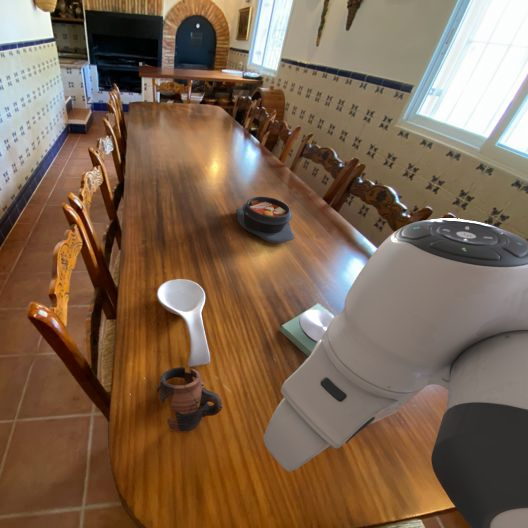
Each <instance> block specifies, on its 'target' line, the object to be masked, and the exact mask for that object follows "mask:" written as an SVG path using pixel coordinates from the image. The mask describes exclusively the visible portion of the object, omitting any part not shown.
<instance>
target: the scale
mask: <svg viewBox="0 0 528 528" xmlns="http://www.w3.org/2000/svg"><path fill="white" fill-rule="evenodd" d="M309 310H319V311H323V312H326V313H328V314H330V315H332V316H333V317H335V316H336V315H334V314H333V313H332V312H330V311H329V310H328V309H327V308H325V307H324V306H323V305H322V304H320V303H316V304H315V305H313V306H311V307H310V308H308V309H306V310H305V311H303V312H301V313H299V314H298V315H297V316H295V317H293V318H292V319H289V320H288V321H287V322H285V323H284V324H282V325H281V327H280V328H279V332H281V334H283V335H284V336H285V337H286V339H288V340H289V341H290V342H291V343H292V344H293V345H295V347H297V348H298V349H299V350H300V351H302V353H303V354H305V355H306V356H307V358H308V357H309V356H310V354H311V352H312V351H313V349H314V347H315V345H316V344H317V343H315V342H313V341H312V340H310V339H309V338H308V337H307V336H306V335H305V334H304V333H303V332H302V330H301V328H300V325H299V319H300V317H301V315H302V314H303V313H304V312H306V311H309Z"/></svg>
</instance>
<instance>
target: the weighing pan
mask: <svg viewBox="0 0 528 528" xmlns="http://www.w3.org/2000/svg"><path fill="white" fill-rule="evenodd" d="M305 311H306V310H305ZM305 311H303V312H304V313H303V312H302V313H303V314H302V315H301V317H300V319H299V325H300V328H301V330H302V332H303V333H304V334H305V335H306V336H307V337H308V338H309V339H310V340H312V341H313V342H315V343H317V342H318V341H319V340H320V339H321V338H322V336H323V334H324V333H325V331H326V329H327V327H328V326H329V324H330V322H331V321H332V319H333V318H334V317H333V316H332V315H330V314H328V313H326V312H323V311H319V310H309V311H306V312H305Z"/></svg>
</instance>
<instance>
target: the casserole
mask: <svg viewBox="0 0 528 528" xmlns="http://www.w3.org/2000/svg"><path fill="white" fill-rule="evenodd" d="M235 212H236V215H237V222H238V224H239V226H241V228H243V229H244V230H246V231H247V232H249V233H251V234H254V235H255V236H258V237H259V238H260V239H262V240H264V241H266V242H269V243H274V244H275V243H276V244H277V243H278V244H281V243H287V242H290V241H293V240H294V239H295V237H296V235H295V233H294V231H293V230H292V227H291V224H290V223H289V222H291V221H292V220H293V215H292V210H291V207H290V206H289V205H288V204H287V203H286V202H284V201H282V200H281V199H277V198H274V197H270V196H260V195H259V196H253V197H250V198H249V199H248V200H247V201H246V202H245V203H243V205H242V206H240V207H239V206H238V207H237V208H236V209H235Z"/></svg>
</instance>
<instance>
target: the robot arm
mask: <svg viewBox="0 0 528 528" xmlns="http://www.w3.org/2000/svg"><path fill="white" fill-rule="evenodd" d="M334 316H335V317H334V318H333V319H332V321H331V322H330V324H329V326H328V327H327V329H326V331H325V333H324V334H323V336H322V338H321V339H320V340H319V341H318V342H317V344H316V345H315V347H314V349H313V351H312V352H311V354H310V356H309V357H308V356H307V358H305V360H304V361H303V362H302V363H301V364H300V365H299V366H298V367H297V368H296V369H295V370H294V371H293V372H292V373H291V374H290V375H289V376H288V378H287V379H285V381H283V384H282V386H281V387H280V393H281V394H282V396H283V398H282V400H281V401H280V402H279V403H278V404H277V406H276V408H275V410H274V412H273V414H272V416H271V418H270V420H269V422H268V424H267V427H266V429H265V432H264V434H263V440H262V441H263V444H264V446H265V448H266V449H267V450H268V452H269V453H270V455H271V456H272V457H273V458H274V460H275V461H276V462H277V463H278V464H279V466H280V467H281V468H283V470H285V471H286V472H289V473H291V472H295V471H296V470H297V469H299V468H301V467H303V466H304V465H305V464H307V463H308V462H310V461H311V460H312V459H314V458H315V457H317V456H318V455H320V454H321V453H322V452H324V451H325V450H326V449H328V448H329V447H330V446H331V447H332V448H333V449H335V450H338V449H341V447H343V446H344V445H345V443H346V444H347V443H348V442H350V440H352V439H353V438H354V437H356V435H358V434H359V433H360V432H362V431H363V430H364V429H366V428H367V427H368V426H370V425H373V424H375V423H376V422H379V421H381V420H383V419H385V418H387V417H391V416H393V415H395V414H396V413H398V412H399V411H400V410H401V409H402V408H403V407H405V405H407V404H408V403H409V402H410V401H411V400H412V399H413V398H415V396H417V395H418V394H419V393H420V392H421V391H422V390H424V388H426V387H427V386H430V385H431V386H432V385H436V386H439V387H443V388H445V389H446V390H447V391H448V393H447V400H446V411H445V412H444V413H443V415H442V419H441V422H440V426H439V429H438V432H437V435H436V439H435V442H434V446H433V448H432V453H431V457H430V459H431V461H430V462H431V467H432V471H433V473H434V476H435V477H436V479H437V481H438V483H439V484H440V486H441V488H442V490H443V491H444V492H445V494H446V496H447V497H448V499H449V500H450V502H451V503H452V504H453V506H454V507H455V509H456V510H457V511H458V513H459V514H460V515H461V517H462V518H463V519H464V520H465V522H466V523H467V524H468V525H469V527H470V528H528V240H526V239H525V238H523V237H521V236H519V235H517V234H514V233H512V232H509V231H507V230H505V229H501V228H499V227H498V226H494V225H492V224H486V223H483V222H479V221H473V220H468V219H460V218H458V219H457V218H436V219H435V218H434V219H425V220H424V219H423V220H418V221H415V222H411V223H408V224H406V225H403V226H402V227H400V228H399V229H397V230H396V231H394V232H392V234H390V235H388V237H386V239H384V241H383V242H382V243H380V245H379V246H378V247H377V248H376V249H375V251H374V252H373V253H372V255H371V256H370V257H369V259H368V260H367V262H366V263H365V264H364V266H363V267H362V269H361V270H360V272H359V273H358V274H357V277H356V278H355V279H354V281H353V282H352V285H351V286H350V288H349V290H348V291H347V294H346V296H345V298H344V306H343V309H342V310H341V311H340V312H339V313H337V314H336V315H334Z"/></svg>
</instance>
